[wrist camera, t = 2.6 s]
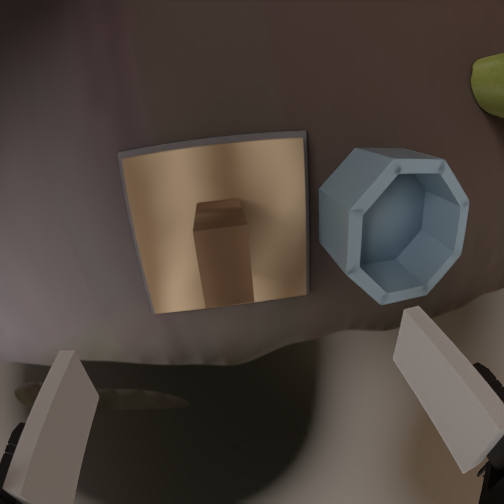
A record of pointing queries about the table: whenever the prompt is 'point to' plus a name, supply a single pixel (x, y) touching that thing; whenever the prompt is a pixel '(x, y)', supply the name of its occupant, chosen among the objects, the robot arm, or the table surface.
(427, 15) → the table surface
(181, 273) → the oak board
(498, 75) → the plant pot
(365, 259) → the slate-blue bowl
